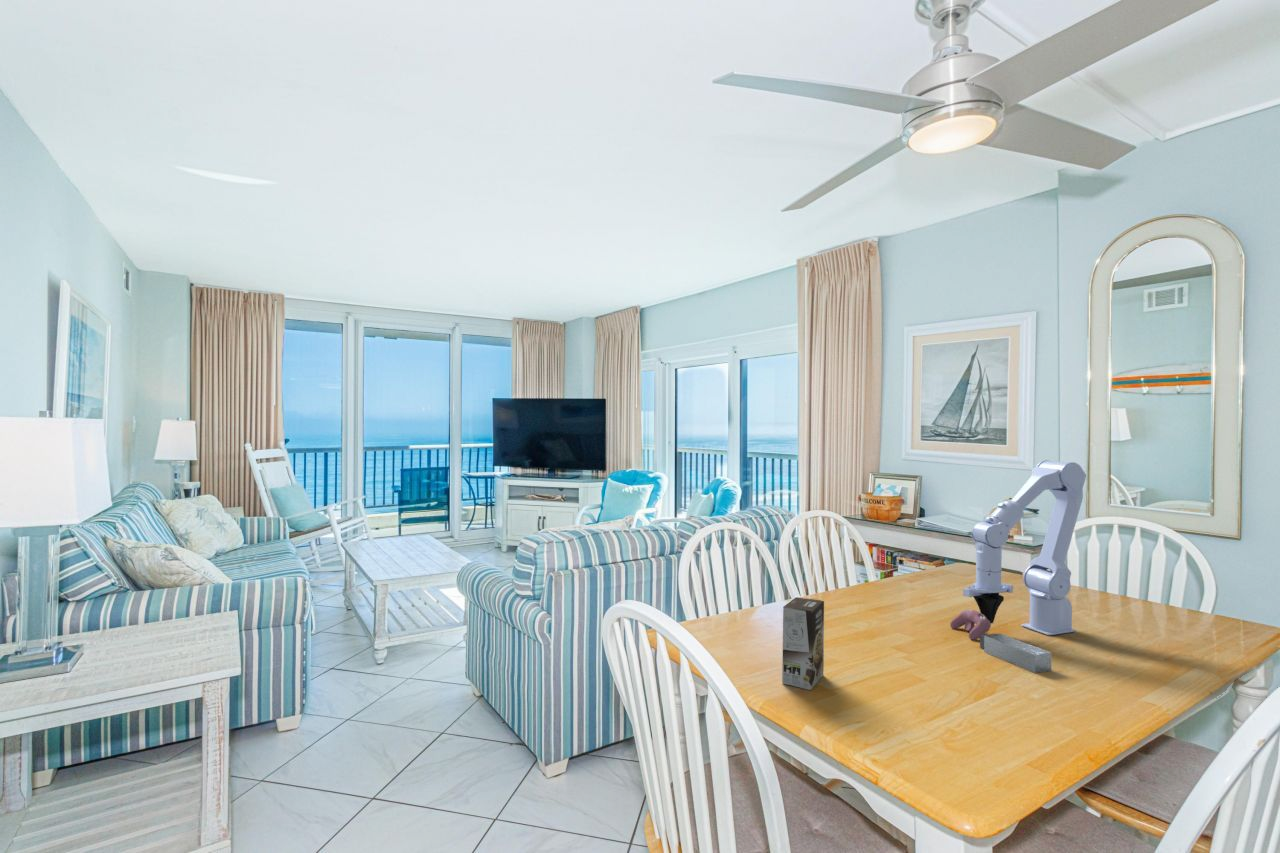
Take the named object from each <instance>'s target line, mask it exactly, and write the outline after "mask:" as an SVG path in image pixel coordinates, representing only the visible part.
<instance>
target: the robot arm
mask: <svg viewBox="0 0 1280 853" xmlns="http://www.w3.org/2000/svg"><path fill="white" fill-rule="evenodd" d="M1086 478H1087V474H1086V473H1085V470H1084V469H1083V468H1082V466H1081V465H1080V464H1078V463H1077V462H1073V461H1072V462H1071V461H1070V462H1067V461H1066V462H1064V461H1054V460H1048V459H1045V460H1041V461H1039V462H1038V463H1037V465H1036V466H1035V467H1033V468H1032V470H1031V476H1030V477H1029V478H1028V479H1027V480H1026V482H1025V483H1023V486H1022V487H1021V488H1020V489H1019V490H1018V492H1017V493H1016V494H1015V495H1014V497H1013V498H1012V499H1011V500H1003V501H1002V502H999V503H998V504H997V508H996V509H994V511H993V512H992V513H991V514H990V515H989V516H987V517H986V518H985V520H984V521H980V522H978V523H976V524H975V525H974V526H973V528H972V531H970V535H971V539H972V540H973V542H974V548H975V582H973V584H972V585H971V586H968V587H963V588H962V589H963V591H962V593H963V594H962V596H964V597H967V598H973V599H974V600H975V602H976V604H977V606H978V608H979V612H980V613H982V614H983V615H984V616H985V617H986V618H987V619H988V620H989V621H990V623H991V624H994V622H995V618H996V616H997V613H998V609H999V608H1000V606H1001V604H1002V602H1004V600H1005V598H1004V596H1003V595H1001V594H1003V593H1004V594H1006V593H1009V594H1012V593H1013V592H1014V585H1013V584H1010V583H1002V558H1003V557H1002V554H1003V552H1002V549H1003V548H1002V547H1003V546H1004V545H1006V543H1008V539H1009V534H1010V531H1011V530H1012V529H1013V528H1014V527H1015V526H1016V525H1017V524H1018V522H1020V521H1021V520H1022V519H1023V517H1024V516H1025V515H1024V513H1025V512H1024V509H1025V508H1027V506H1029V505H1030V504H1031V503H1032V502H1034V500H1036V499H1037V498H1038V497H1039V496H1041V494H1042V493H1043V492H1044V491H1046V490H1049V491H1050V492H1051V493H1052V495H1053V496H1054V497H1055V502H1054V505H1053V509H1052V513H1051V515H1050V519H1049V523H1048V526H1047V529H1046V533H1045V537H1044V540H1043V544H1042V547H1041V551H1040V553H1039V556H1037V557H1035V558H1033V559H1031V560H1030V563H1029V565H1028V567H1027V568H1026V569H1025V570H1024V572H1023V575H1022V582H1023V584H1024V586H1025V587H1026V588H1027V592H1028V593H1029V622H1028V623H1027V622H1026V623H1022V624H1021V625H1020V626H1021V627H1024V628H1026V629H1030V630H1031V631H1035V632H1038V633H1041V634H1043V635H1047V636H1054V635H1061V634H1062V635H1063V634H1069V633H1074V632H1076V629H1074V628H1073V606H1072V603H1071V600H1070V599H1069V598H1068V597H1067V596H1068V595H1069V593H1070V591H1071V588H1072V585H1071V584H1072V583H1071V576H1072V572H1071V570H1070V569H1069V567H1068V566H1067V564H1066V563H1065V561H1066V559H1067V558H1066V557H1067V554H1068V551H1069V547H1070V544H1071V540H1072V537H1073V534H1074V530H1075V526H1076V523H1077V520H1078V516H1079V513H1080V509H1081V505H1082V503H1083V499H1084V491H1083V490H1084V485H1085V482H1086Z"/></svg>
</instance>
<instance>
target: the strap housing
mask: <svg viewBox="0 0 1280 853" xmlns="http://www.w3.org/2000/svg"><path fill="white" fill-rule="evenodd" d="M983 652H984V653H986V654H988V655H991V656H992V657H996V658H998V659H1000V660H1003V661H1004V660H1005V662H1007V663H1009V662H1010V664H1011V665H1014V666H1016V665H1017V667H1019V668H1021V667H1022V668H1021V669H1023V668H1024V670H1026V669H1027V670H1026V671H1028V670H1029V672H1030V673H1033V674H1037V673H1038V672H1040V673H1045V672H1051V671H1052V652H1051V651H1048V650H1045V649H1043V648H1039V647H1037V646H1034V645H1031V644H1029V643H1027V642H1024V641H1021V640H1019V639H1016V638H1014V637H1010V636H1008V635H1005V634H1003V633H1000V632H999V633H993V634H992V633H991V634H987V635H985V634H984V649H983ZM1038 674H1039V673H1038Z"/></svg>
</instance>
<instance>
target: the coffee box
mask: <svg viewBox="0 0 1280 853" xmlns="http://www.w3.org/2000/svg"><path fill="white" fill-rule="evenodd" d="M782 614H783V615H782V667H781V668H782V669H781V670H782V673H781V674H782V675H781V679H782V680H781V683H782V684H784V685H789V686H793V687H796V688H801V689H802V690H803V689H804V690H808V691H811V690H813V688H814V687H815V686H816V685H817V683H819V681H820V680H821V679H822V678H823V676H824V667H825V665H824V664H825V663H824V659H825V658H824V657H825V656H824V654H825V653H824V652H825V651H824V650H825V648H824V645H825V643H824V642H825V640H824V638H825V634H824V633H825V632H824V630H825V628H824V627H825V626H824V625H825V601H824V600H821V599H814V598H813V599H812V598H803V597H794V598H793V599H792V600H791V601H790V602H788V603H786V604H785V605H784V606H783V608H782Z"/></svg>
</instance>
